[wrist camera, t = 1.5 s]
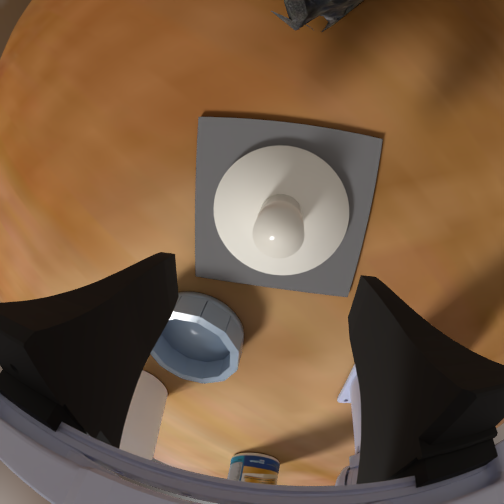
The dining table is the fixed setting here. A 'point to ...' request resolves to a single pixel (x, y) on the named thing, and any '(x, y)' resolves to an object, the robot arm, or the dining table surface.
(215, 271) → the mat
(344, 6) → the foil
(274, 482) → the beverage bottle
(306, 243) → the lid
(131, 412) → the cup
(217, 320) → the bowl
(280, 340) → the dining table surface
